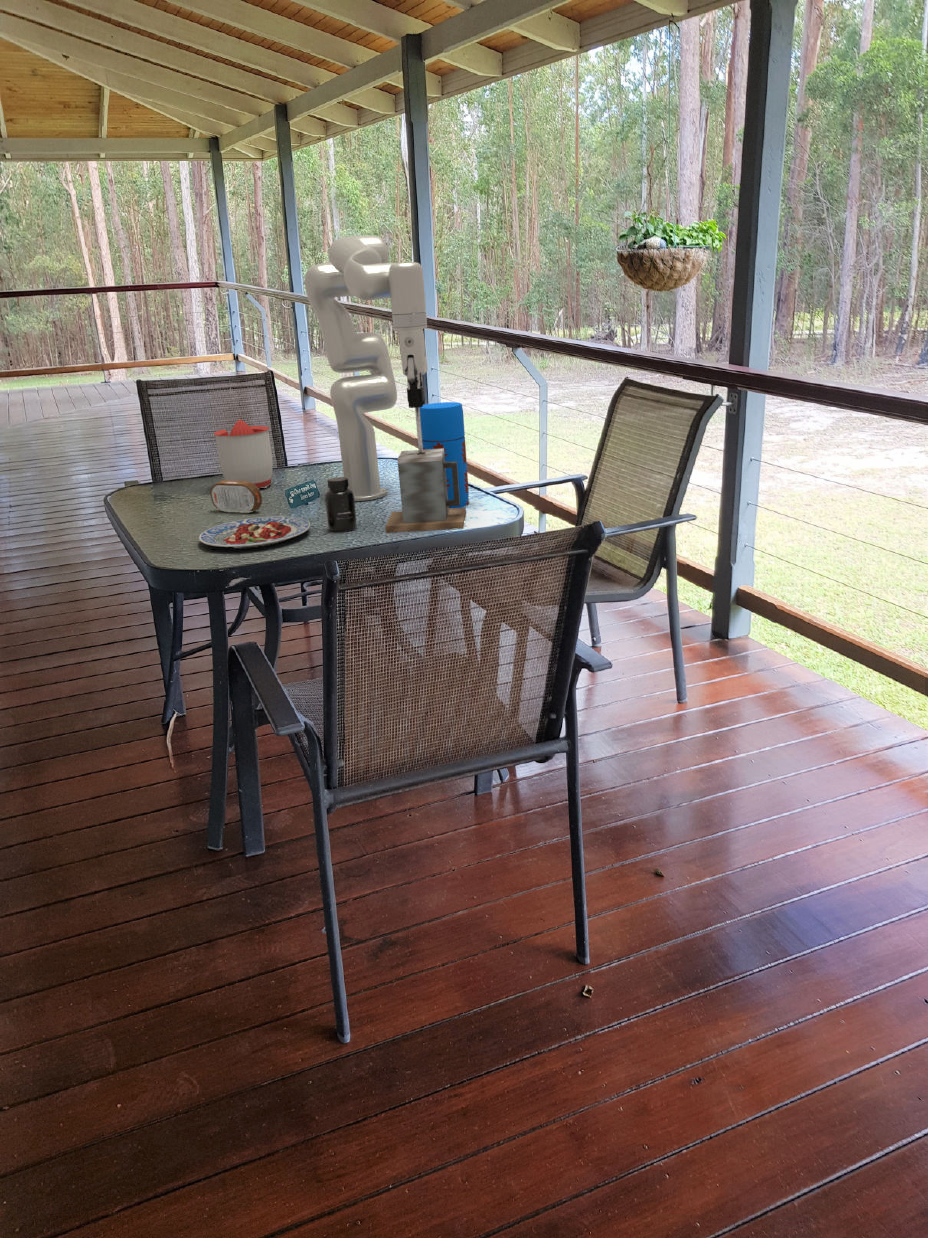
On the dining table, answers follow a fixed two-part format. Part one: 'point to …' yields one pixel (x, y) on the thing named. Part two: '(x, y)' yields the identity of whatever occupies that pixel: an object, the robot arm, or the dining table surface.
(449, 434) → the thermos
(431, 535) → the dining table surface
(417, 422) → the grey rod with knob
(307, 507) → the dining table surface
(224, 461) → the citrus juicer
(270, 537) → the ceramic plate
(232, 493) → the tin
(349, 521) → the supplement bottle
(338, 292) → the robot arm
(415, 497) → the stand
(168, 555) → the dining table surface
